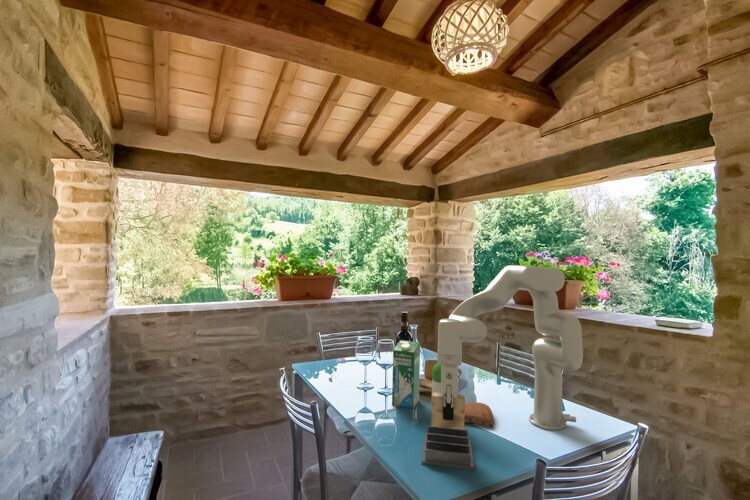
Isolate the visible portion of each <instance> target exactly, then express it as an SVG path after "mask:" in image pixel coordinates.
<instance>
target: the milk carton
mask: <svg viewBox="0 0 750 500" xmlns="http://www.w3.org/2000/svg"><path fill="white" fill-rule="evenodd" d="M420 362H421V342H420V341H419V342H418V341H410V340H402V339H400V340H399V341H398V343H397V344H396V346H395V347H394V349H393V351H392V385H391V386H392V387H391V389H392V391H391V392H392V394H391V395H392V396H391V405H392V406H395V407H401V408H405V407H406V409H411V408H412V409H411V410H413V409H414V408H415V407H416V406H417V404H418V403H419V402H418V401H420V372H421V371H420V367H421V363H420ZM417 402H418V403H417Z"/></svg>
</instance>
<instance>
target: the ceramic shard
mask: <svg viewBox="0 0 750 500" xmlns="http://www.w3.org/2000/svg"><path fill="white" fill-rule="evenodd" d="M464 424H476V425H478V426H484V427H486V428H493V427H494V416H493V411H492V409H491V408H490V406H489V405H488V404H486V403H482V402H465V416H464Z"/></svg>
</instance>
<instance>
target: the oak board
mask: <svg viewBox="0 0 750 500" xmlns="http://www.w3.org/2000/svg"><path fill="white" fill-rule="evenodd" d="M445 396H447V395H446V393H445ZM451 397H452V395H451ZM446 400H447V399H446ZM465 403H466V397H465V395H464V394H458V398H457V399H456V398H454V397H453V407H454V412H453V420H444V419H443V406H444V398H443V397H442V393H435V392H433V393H432V392H431V408H432V417H431V425H430V426H433V427H443V428H452V429H461V430H465V423H464V416H465Z"/></svg>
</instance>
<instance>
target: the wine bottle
mask: <svg viewBox="0 0 750 500" xmlns="http://www.w3.org/2000/svg"><path fill="white" fill-rule="evenodd" d="M431 372H432V374H431V376H432V377H431V394H432V393H433V392H435V393H442V390H441V365H440V364H438V363H437V362H436V363H435V364H434V366H433V367H432V371H431ZM430 410H431V414H430V415H431V418H432V407H431V409H430Z"/></svg>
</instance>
